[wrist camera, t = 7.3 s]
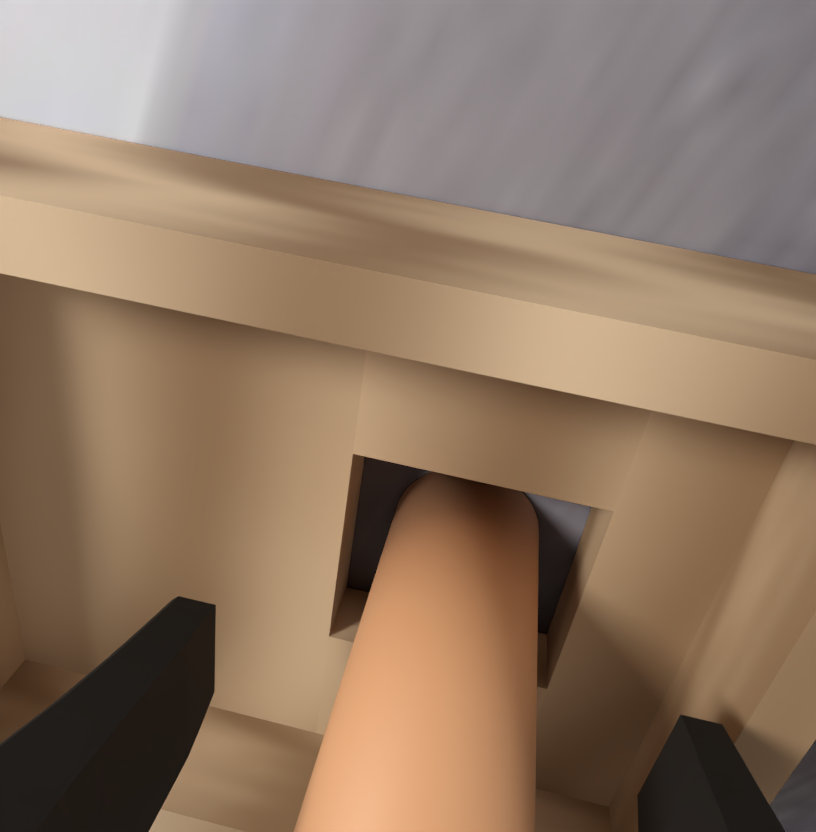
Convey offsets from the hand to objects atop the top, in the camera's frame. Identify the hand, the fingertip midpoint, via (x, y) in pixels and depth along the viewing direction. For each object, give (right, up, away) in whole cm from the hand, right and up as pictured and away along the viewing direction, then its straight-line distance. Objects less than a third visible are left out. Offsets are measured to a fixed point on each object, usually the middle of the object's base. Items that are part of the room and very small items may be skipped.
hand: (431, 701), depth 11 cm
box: (-2, +3, +4) cm, 5 cm away
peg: (+1, +2, +4) cm, 4 cm away
